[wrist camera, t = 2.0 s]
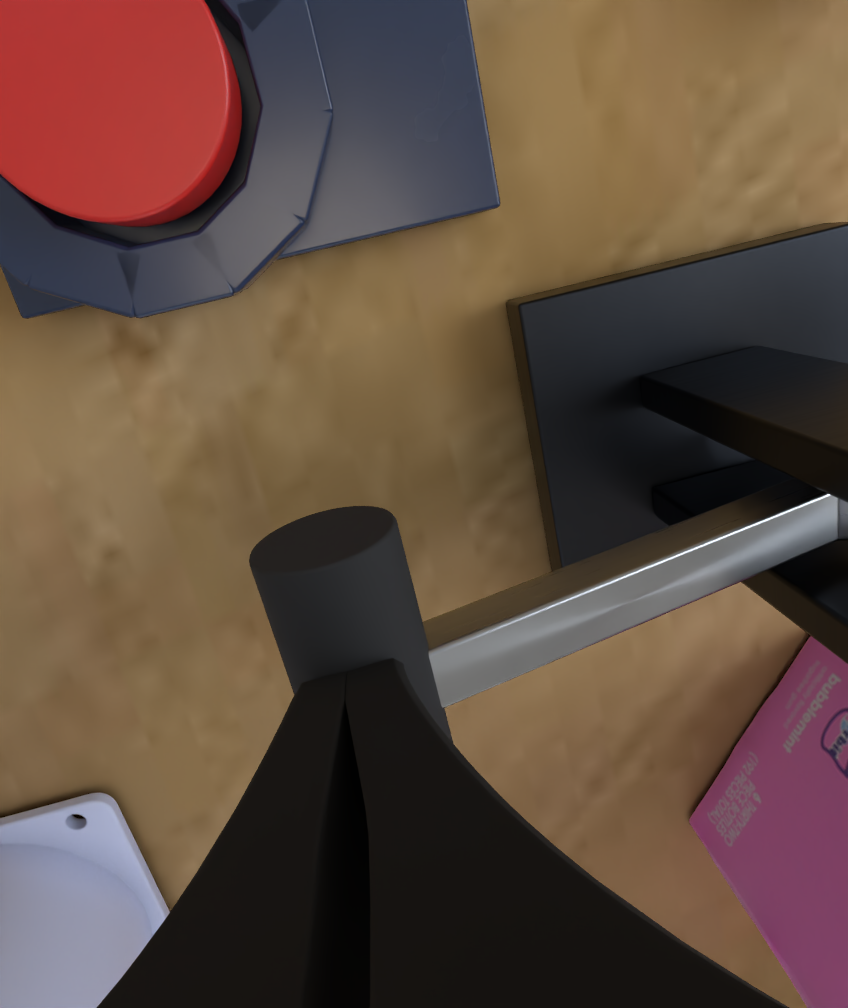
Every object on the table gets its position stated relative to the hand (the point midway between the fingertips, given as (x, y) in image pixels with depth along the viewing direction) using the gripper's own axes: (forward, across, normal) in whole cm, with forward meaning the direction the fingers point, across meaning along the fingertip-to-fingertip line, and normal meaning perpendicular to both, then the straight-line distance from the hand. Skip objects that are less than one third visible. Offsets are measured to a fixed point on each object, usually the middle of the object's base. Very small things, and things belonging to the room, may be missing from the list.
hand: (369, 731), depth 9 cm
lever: (+3, -4, 0) cm, 5 cm away
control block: (+9, 0, -9) cm, 13 cm away
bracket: (+9, -9, 0) cm, 13 cm away
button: (+6, +2, -9) cm, 11 cm away
